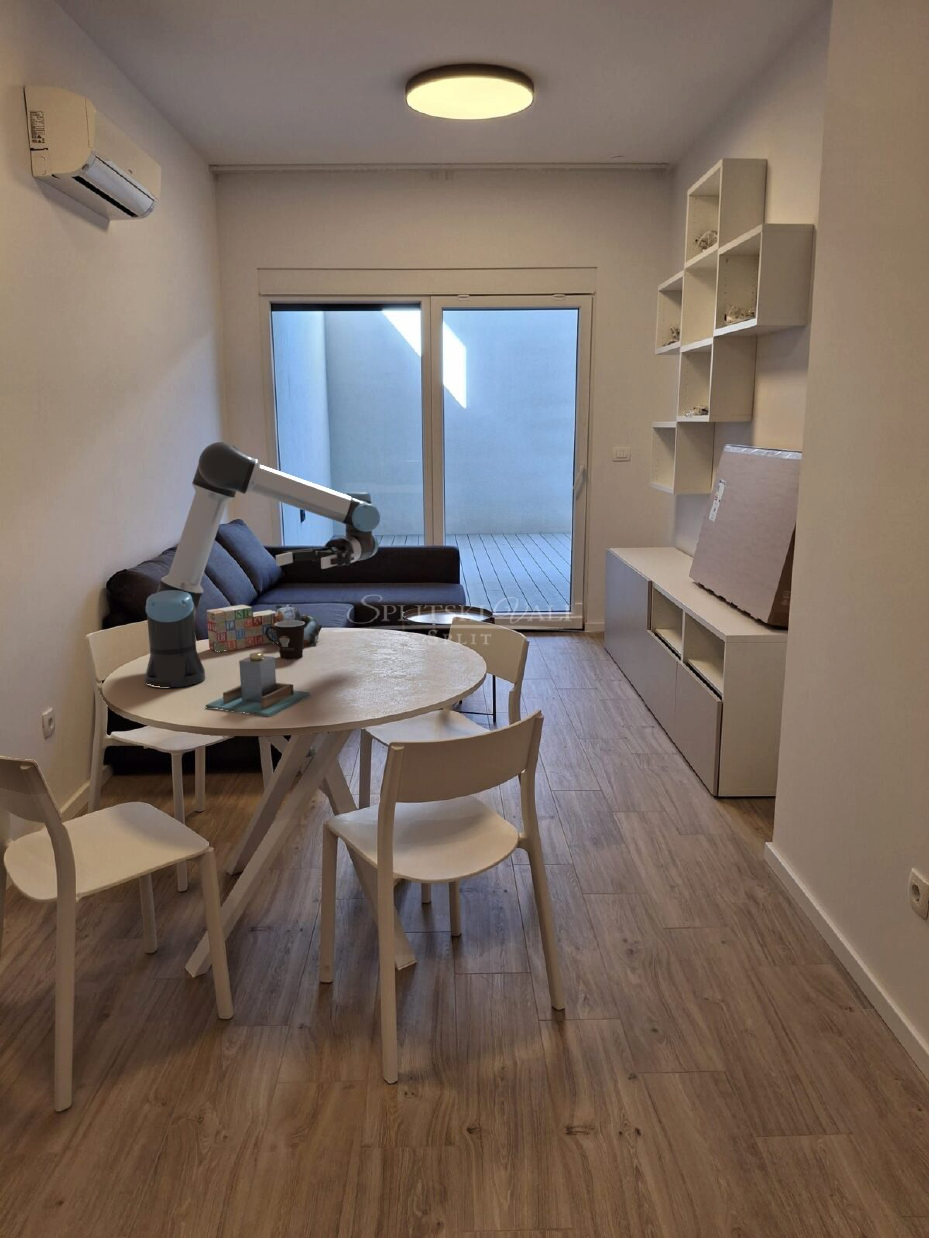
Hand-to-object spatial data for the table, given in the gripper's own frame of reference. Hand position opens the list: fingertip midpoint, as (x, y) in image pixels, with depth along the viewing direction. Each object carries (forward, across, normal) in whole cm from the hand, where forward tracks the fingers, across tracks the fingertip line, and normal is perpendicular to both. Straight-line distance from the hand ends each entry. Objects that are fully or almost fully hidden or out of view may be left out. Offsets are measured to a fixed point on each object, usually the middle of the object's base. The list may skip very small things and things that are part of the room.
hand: (299, 562), depth 223 cm
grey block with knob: (+18, +1, -31) cm, 36 cm away
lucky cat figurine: (-36, +26, -32) cm, 55 cm away
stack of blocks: (-28, +40, -32) cm, 58 cm away
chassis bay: (+18, +1, -32) cm, 37 cm away
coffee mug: (-22, +20, -32) cm, 44 cm away
